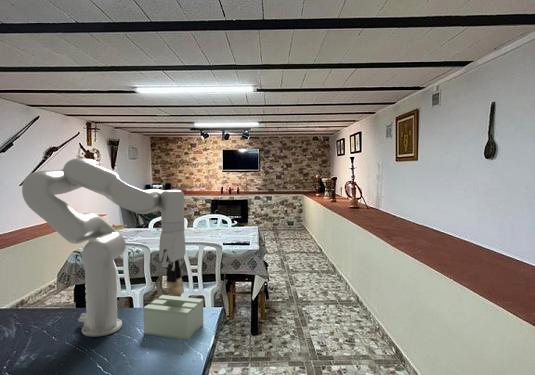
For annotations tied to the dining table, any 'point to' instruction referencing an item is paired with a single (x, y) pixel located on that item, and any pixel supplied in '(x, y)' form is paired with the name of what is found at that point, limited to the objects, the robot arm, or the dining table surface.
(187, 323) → the box
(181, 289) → the block
